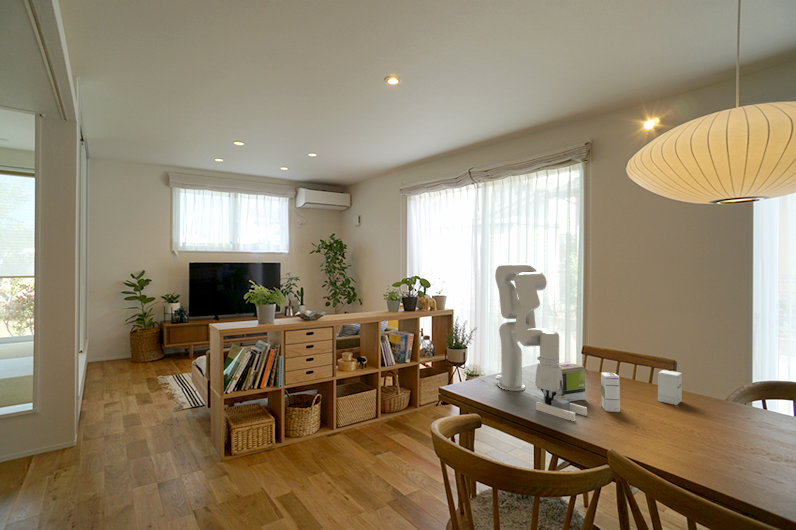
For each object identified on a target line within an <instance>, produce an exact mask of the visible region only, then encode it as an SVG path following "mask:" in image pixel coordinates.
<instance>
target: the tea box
mask: <svg viewBox="0 0 796 530" xmlns="http://www.w3.org/2000/svg"><path fill="white" fill-rule="evenodd" d="M559 366H561V371H562V378H563V389H562V394H561V395H555V396H554V398H555V399H557V398H559V399H563V400H566V401H570V402H575V401H582V400H586V399H587V397H586V368H585V366H583V365H579V364H576V363H574V362H570V361H566V362H565V361H564V362H559ZM543 397H544V398H545V396H544V395H543Z"/></svg>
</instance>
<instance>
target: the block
mask: <svg viewBox="0 0 796 530" xmlns="http://www.w3.org/2000/svg"><path fill="white" fill-rule="evenodd" d="M570 403H571V401H566V400H563V399H559V398H557V399H554V400H552V401H551V406H554V407H557V408H560V409H564V410H567V411H570ZM570 412H571V411H570Z"/></svg>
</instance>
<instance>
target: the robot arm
mask: <svg viewBox="0 0 796 530" xmlns="http://www.w3.org/2000/svg"><path fill="white" fill-rule="evenodd" d="M494 278H495V283H496V285H497V289H498V295H499V304H500V314H501V316H502V318H503V319H506V320H515V321H506V322H504V323H502V324H501V325H500V326H499V329H498V330H499V337H500V343H501V344H500V346H501V353H500V354H501V357H500V358H501V360H500V361H501V371H500V372H501V373H500V374H501V375H500V374H497V375H496V376H495V380H497V381H499V382H498V383H497V386H499V387H500V389H501V388H502V389H501V390H504V389H505V390H504V391H508V390H509V392H520V391H524V390H525V389H526V385H525V384H524V383H523V355H522V354H523V351H522V348H521V346H520V345H519V344H518V343H520V344H521V345H522V346H524V347H539V356H537V360H538V361H539V362H538V363H537V366H536V371H535V386H536V388H537V390H540V392H542V395H543V397H544V396H545V397H544V404H547V405H550V406H551V401H552V400H554V396H555V395H561V394H562V389H563V378H562V371H561V366H559V363H560V335H559V333H558V332H556V331H551V330H550V329H548V328H544V327H540V328H539V327H537V326H536V325H537V324H536V316H535V310H536V309H538V308H539V307H540V306H541V302H540V299H539V294H538V291H543V290H545V289H546V287H547V283H548V282H547V279H546V276H545V274H544V273H543V272H542V271H541V270H539V269H538V268H536V267H535V266H533V265H532V264H531V263H525V262H522V263H518V262H513V263H512V262H510V263H509V262H506V263H502V264H500V265H498V266H497V267H496V269H495V275H494ZM513 281H514V284H513ZM499 387H498V388H499Z"/></svg>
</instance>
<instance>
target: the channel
mask: <svg viewBox="0 0 796 530" xmlns="http://www.w3.org/2000/svg"><path fill="white" fill-rule="evenodd" d="M554 399H555V398H554ZM535 410H537V411H539V412H542V413H546V414H549V415H551V416H554V417H558V418H561V419H565V420H568V421H570V420H571V421H570V422H573V421H574V422H576V414H579V415H582V416H588V408H587V407H586V406H583V405H579V404H576V403H574V402H573V403H572V402H570V411H567V410H564V409H560V408H557V407H554V406H550V405H547V404H546V403H545V402H544V403H543V402H539V401H536V402H535Z"/></svg>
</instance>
